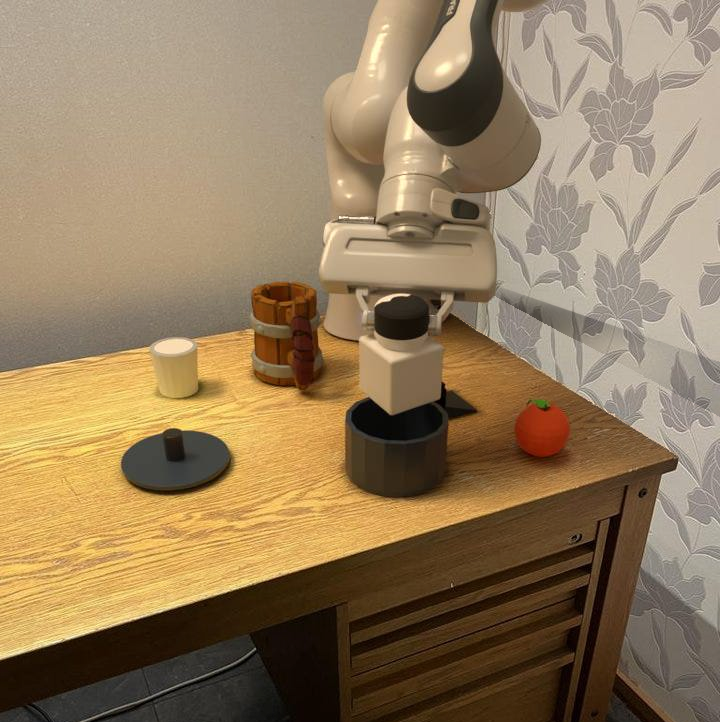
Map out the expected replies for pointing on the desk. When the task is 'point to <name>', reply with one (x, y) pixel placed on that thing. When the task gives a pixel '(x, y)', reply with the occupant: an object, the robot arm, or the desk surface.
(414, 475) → the enamel pot
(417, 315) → the medicine bottle
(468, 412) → the black wedge
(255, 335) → the mug
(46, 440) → the desk surface
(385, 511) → the desk surface
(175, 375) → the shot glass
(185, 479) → the pot lid
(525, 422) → the clementine
